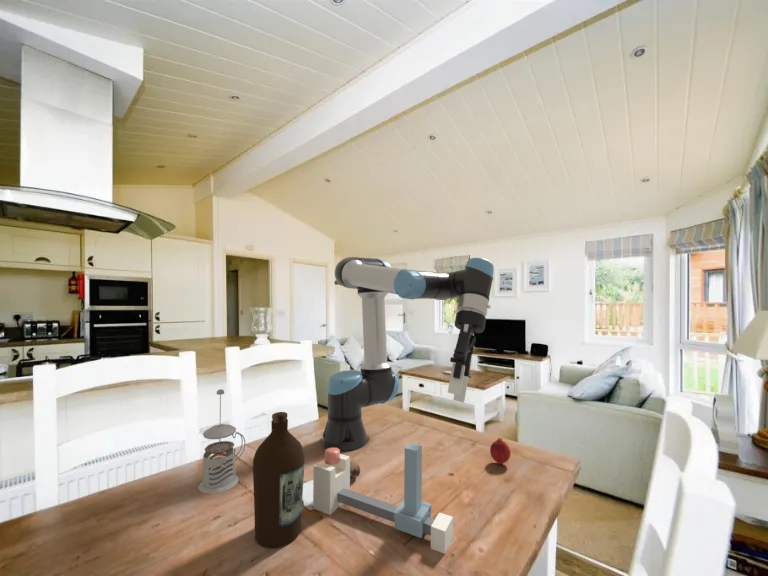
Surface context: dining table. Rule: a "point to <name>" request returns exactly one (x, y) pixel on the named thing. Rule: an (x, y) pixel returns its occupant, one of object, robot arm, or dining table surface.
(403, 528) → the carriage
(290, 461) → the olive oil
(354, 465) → the mushroom
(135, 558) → the dining table surface
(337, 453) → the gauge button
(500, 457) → the onion
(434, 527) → the slide rail
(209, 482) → the french press
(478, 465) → the dining table surface
